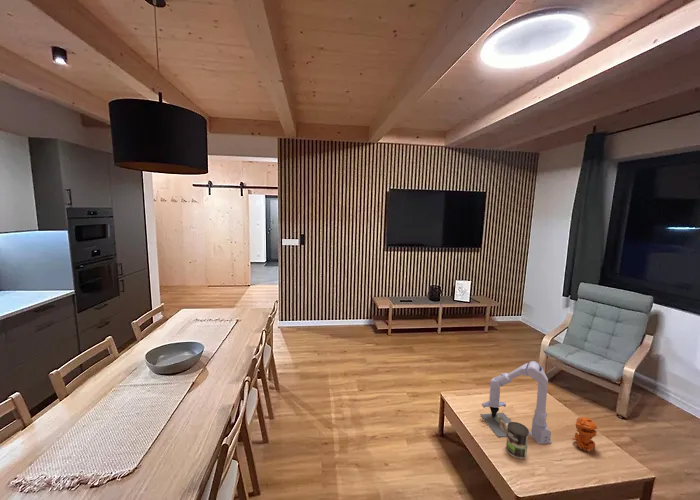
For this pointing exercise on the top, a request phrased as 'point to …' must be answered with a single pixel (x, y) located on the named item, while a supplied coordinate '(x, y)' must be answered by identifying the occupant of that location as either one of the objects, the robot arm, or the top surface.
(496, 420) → the fence gate
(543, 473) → the top surface
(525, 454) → the coffee can
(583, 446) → the toy dinosaur
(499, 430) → the card
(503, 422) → the fixed fence
